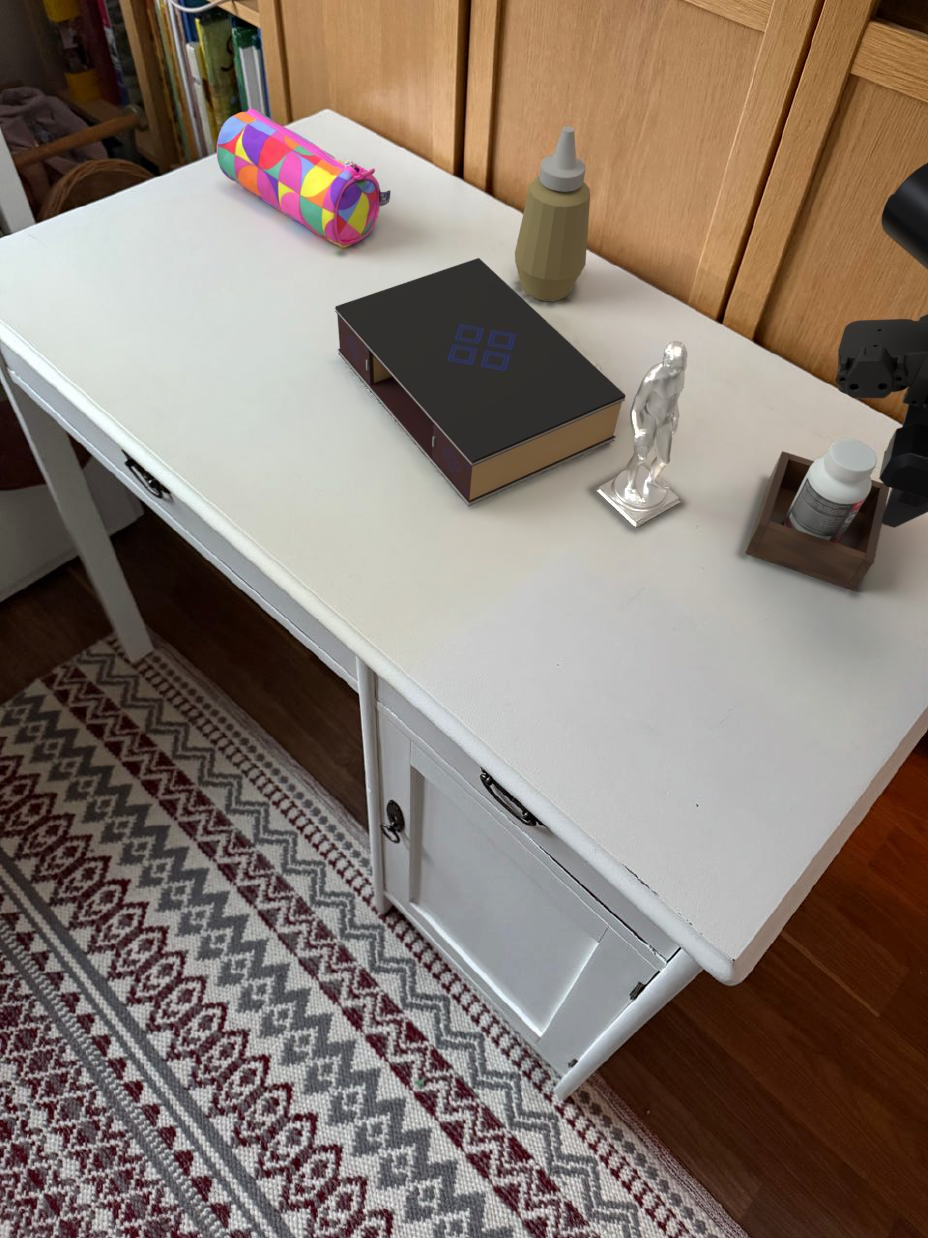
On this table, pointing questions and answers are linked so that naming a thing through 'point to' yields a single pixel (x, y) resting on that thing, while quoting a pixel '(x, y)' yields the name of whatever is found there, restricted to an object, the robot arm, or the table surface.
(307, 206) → the pencil case
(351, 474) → the table surface
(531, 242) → the squeeze bottle
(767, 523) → the holder
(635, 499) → the figurine
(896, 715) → the table surface
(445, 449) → the book
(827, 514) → the pill bottle
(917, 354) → the robot arm
